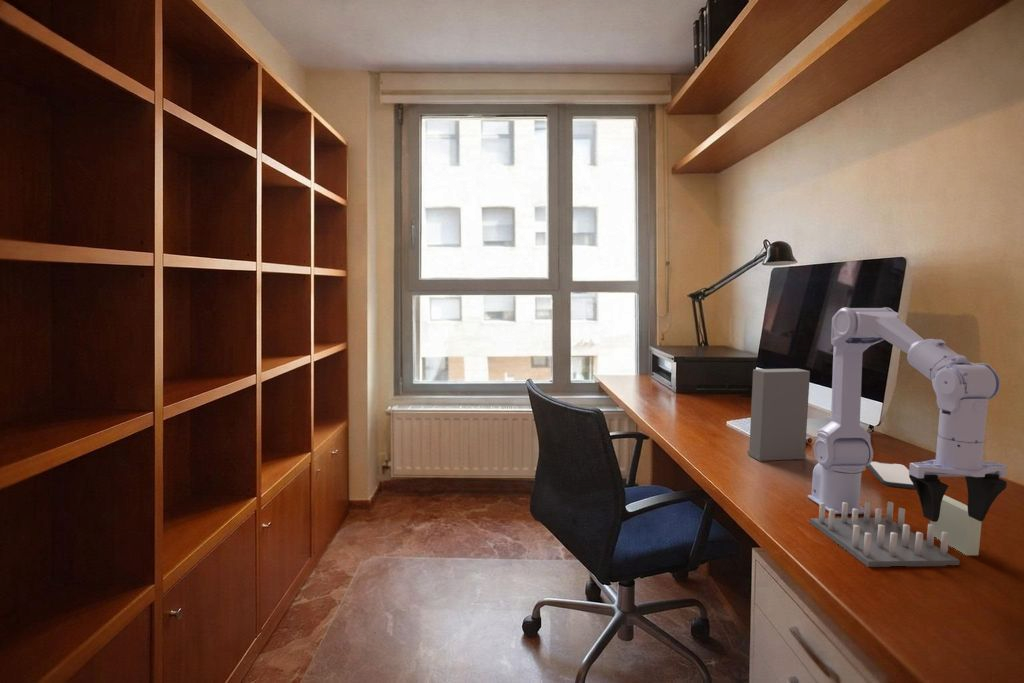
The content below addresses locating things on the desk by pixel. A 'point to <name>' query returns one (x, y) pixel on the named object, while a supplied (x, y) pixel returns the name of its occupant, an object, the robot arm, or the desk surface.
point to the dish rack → (883, 538)
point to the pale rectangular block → (958, 526)
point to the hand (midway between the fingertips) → (953, 518)
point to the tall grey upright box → (779, 414)
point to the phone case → (891, 474)
